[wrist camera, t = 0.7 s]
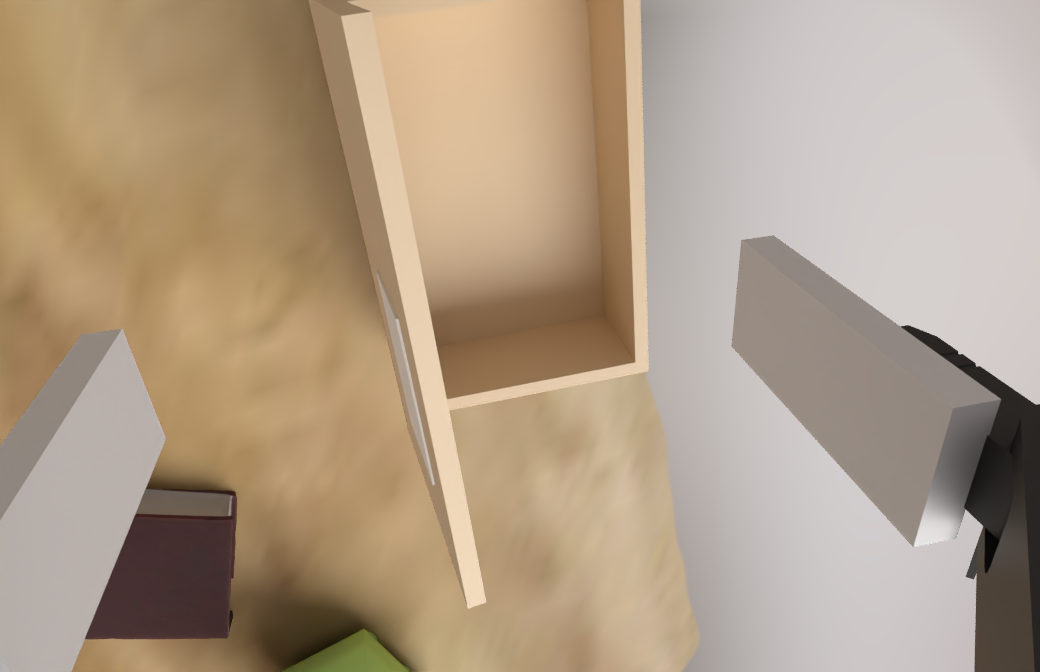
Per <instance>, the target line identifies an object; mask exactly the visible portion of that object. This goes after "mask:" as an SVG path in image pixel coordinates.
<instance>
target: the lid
mask: <svg viewBox="0 0 1040 672" xmlns="http://www.w3.org/2000/svg"><path fill="white" fill-rule="evenodd" d="M308 2H309V6H310V10H311V14H312V19H313V23H314V27H315V32H316V36H317V40H318V44H319V49H320V53H321V57H322V62H323V66H324V70H325V74H326V79H327V83H328V87H329V92H330V96H331V100H332V105H333V109H334V113H335V117H336V122H337V126H338V130H339V135H340V139H341V143H342V147H343V152H344V156H345V160H346V165H347V169H348V173H349V177H350V182H351V186H352V190H353V195H354V199H355V203H356V208H357V212H358V216H359V220H360V225H361V229H362V233H363V238H364V242H365V246H366V250H367V255H368V259H369V263H370V268H371V272H372V276H373V280H374V285H375V289H376V293H377V298H378V302H379V306H380V311H381V315H382V319H383V323H384V328H385V332H386V336H387V341H388V345H389V349H390V353H391V358H392V362H393V366H394V371H395V375H396V379H397V383H398V388H399V392H400V396H401V401H402V405H403V409H404V414H405V418H406V422H407V426H408V431H409V434H410V437H411V440H412V443H413V446H414V449H415V452H416V455H417V458H418V461H419V464H420V467H421V470H422V473H423V476H424V479H425V482H426V485H427V488H428V491H429V494H430V497H431V500H432V503H433V506H434V509H435V512H436V515H437V518H438V521H439V523H440V526H441V529H442V532H443V535H444V538H445V541H446V544H447V547H448V550H449V553H450V556H451V559H452V562H453V565H454V568H455V571H456V574H457V577H458V580H459V583H460V586H461V589H462V592H463V595H464V598H465V601H466V604H467V607H468V609H469V608H472V607H474V606H477V605H480V604H483V603H486V598H485V593H484V588H483V583H482V578H481V573H480V567H479V562H478V557H477V552H476V547H475V542H474V537H473V531H472V526H471V521H470V516H469V511H468V506H467V500H466V495H465V490H464V485H463V480H462V475H461V470H460V464H459V459H458V454H457V449H456V444H455V439H454V434H453V428H452V423H451V418H450V413H449V408H448V403H447V398H446V392H445V387H444V382H443V377H442V372H441V367H440V362H439V356H438V351H437V346H436V341H435V336H434V331H433V325H432V320H431V315H430V310H429V305H428V300H427V295H426V289H425V284H424V279H423V274H422V269H421V264H420V259H419V253H418V248H417V243H416V238H415V233H414V228H413V223H412V217H411V212H410V207H409V202H408V197H407V192H406V186H405V181H404V176H403V171H402V166H401V161H400V156H399V150H398V145H397V140H396V135H395V130H394V125H393V120H392V114H391V109H390V104H389V99H388V94H387V89H386V84H385V78H384V73H383V68H382V63H381V58H380V53H379V48H378V42H377V37H376V32H375V27H374V22H373V17H372V12H371V11H369V10H366V9H363V8H361V7H358V6H356V5H353V4H351V3H348V2H345V1H343V0H308Z"/></svg>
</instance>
